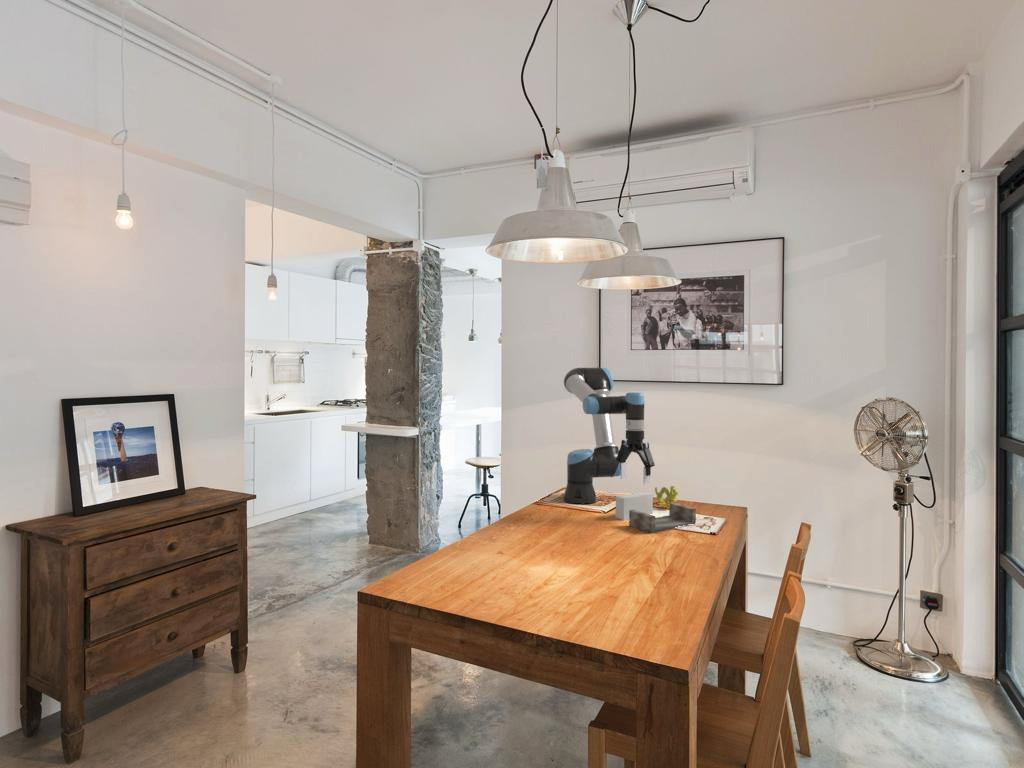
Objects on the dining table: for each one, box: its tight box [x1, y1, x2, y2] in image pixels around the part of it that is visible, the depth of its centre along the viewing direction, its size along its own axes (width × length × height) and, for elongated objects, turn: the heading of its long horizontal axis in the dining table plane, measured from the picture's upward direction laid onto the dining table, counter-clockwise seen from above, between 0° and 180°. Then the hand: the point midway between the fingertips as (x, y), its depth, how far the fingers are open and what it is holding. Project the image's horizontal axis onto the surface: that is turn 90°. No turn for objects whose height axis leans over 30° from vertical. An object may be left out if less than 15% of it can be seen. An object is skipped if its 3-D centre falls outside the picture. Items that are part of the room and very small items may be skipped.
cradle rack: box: [628, 502, 697, 534], centre depth 235 cm, size 12×24×6 cm, turn 122°
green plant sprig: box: [654, 485, 679, 510], centre depth 266 cm, size 18×5×10 cm, turn 19°
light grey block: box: [615, 491, 654, 521], centre depth 248 cm, size 5×16×9 cm, turn 122°
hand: (634, 480), depth 248 cm, fingers open, 13 cm apart
